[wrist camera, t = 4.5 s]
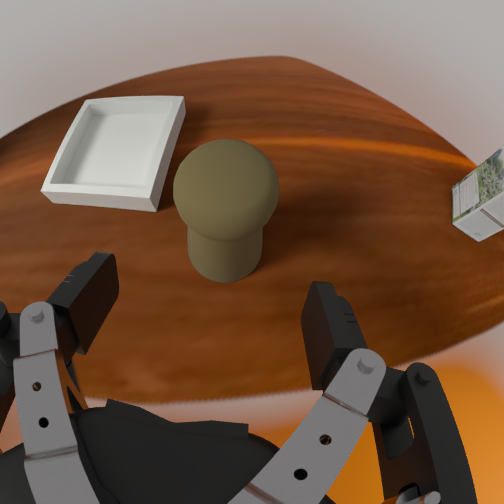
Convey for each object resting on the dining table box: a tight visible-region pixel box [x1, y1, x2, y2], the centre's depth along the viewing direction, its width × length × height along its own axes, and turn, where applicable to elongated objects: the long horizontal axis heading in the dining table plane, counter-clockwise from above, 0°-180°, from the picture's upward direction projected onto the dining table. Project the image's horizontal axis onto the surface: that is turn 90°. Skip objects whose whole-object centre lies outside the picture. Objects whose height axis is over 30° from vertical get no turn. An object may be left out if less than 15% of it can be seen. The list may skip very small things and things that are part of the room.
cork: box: [173, 139, 280, 283], centre depth 17 cm, size 6×6×11 cm
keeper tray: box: [41, 96, 186, 212], centre depth 22 cm, size 12×12×3 cm
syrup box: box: [452, 145, 504, 242], centre depth 19 cm, size 6×6×14 cm
